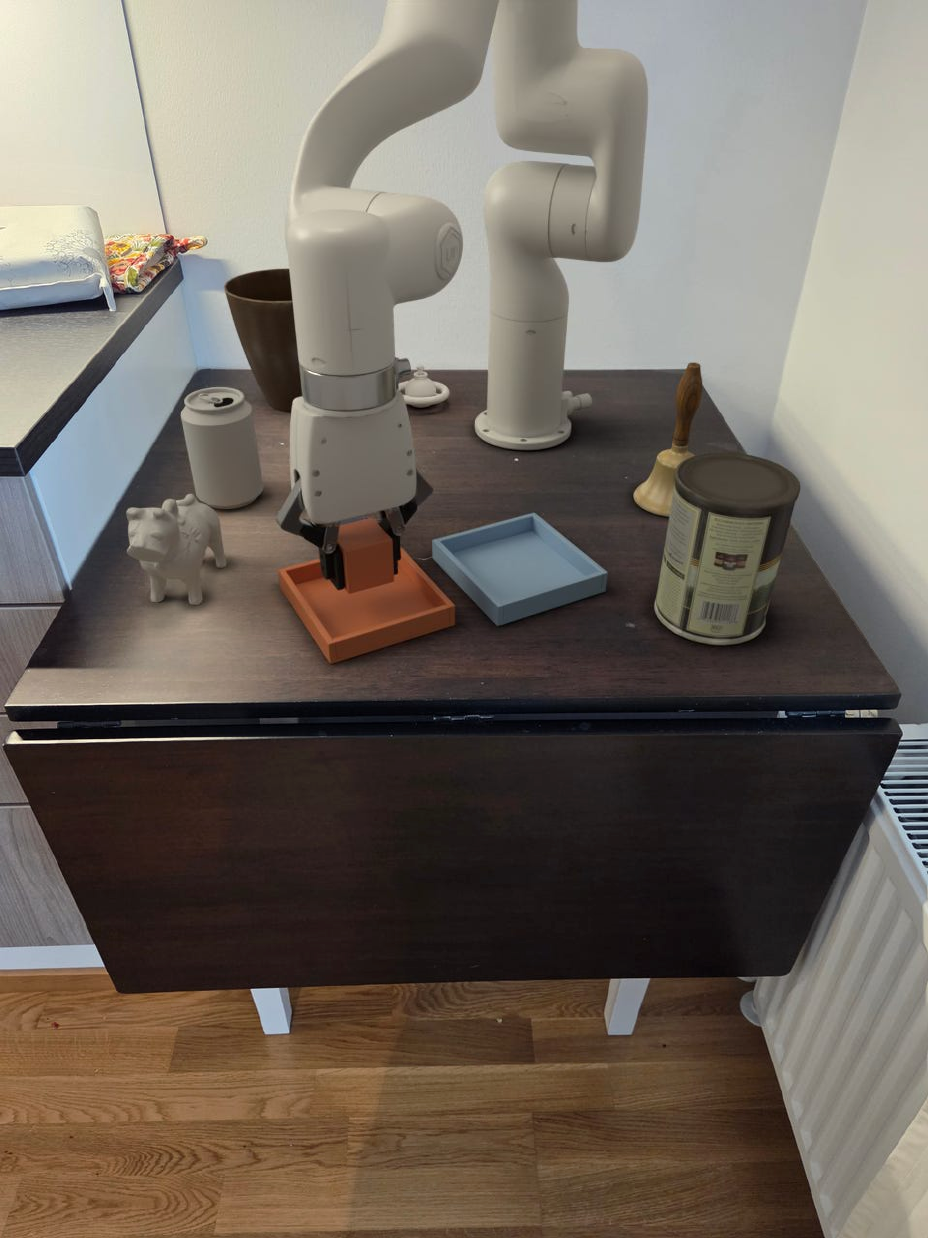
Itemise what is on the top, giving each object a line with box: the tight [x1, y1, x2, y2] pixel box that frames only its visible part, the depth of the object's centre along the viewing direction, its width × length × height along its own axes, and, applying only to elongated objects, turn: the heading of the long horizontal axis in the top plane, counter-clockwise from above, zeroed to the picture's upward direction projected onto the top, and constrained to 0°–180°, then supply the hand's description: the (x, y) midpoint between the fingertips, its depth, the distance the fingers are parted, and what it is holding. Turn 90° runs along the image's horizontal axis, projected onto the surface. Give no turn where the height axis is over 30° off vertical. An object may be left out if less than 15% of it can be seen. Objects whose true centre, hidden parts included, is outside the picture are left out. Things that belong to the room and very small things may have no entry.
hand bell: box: [633, 362, 704, 518], centre depth 95 cm, size 8×8×16 cm
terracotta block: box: [337, 517, 394, 594], centre depth 79 cm, size 4×4×4 cm
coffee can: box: [653, 451, 801, 646], centre depth 78 cm, size 10×10×14 cm
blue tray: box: [431, 512, 609, 627], centre depth 86 cm, size 12×13×2 cm
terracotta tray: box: [277, 546, 456, 665], centre depth 82 cm, size 12×13×2 cm
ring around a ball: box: [398, 364, 451, 408], centre depth 120 cm, size 8×6×8 cm
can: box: [180, 386, 264, 510], centre depth 96 cm, size 8×8×12 cm
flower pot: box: [223, 268, 302, 412], centre depth 117 cm, size 15×15×16 cm
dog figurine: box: [125, 493, 228, 606], centre depth 81 cm, size 5×13×11 cm, turn 173°
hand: (361, 573), depth 80 cm, fingers closed on terracotta block, 4 cm apart
